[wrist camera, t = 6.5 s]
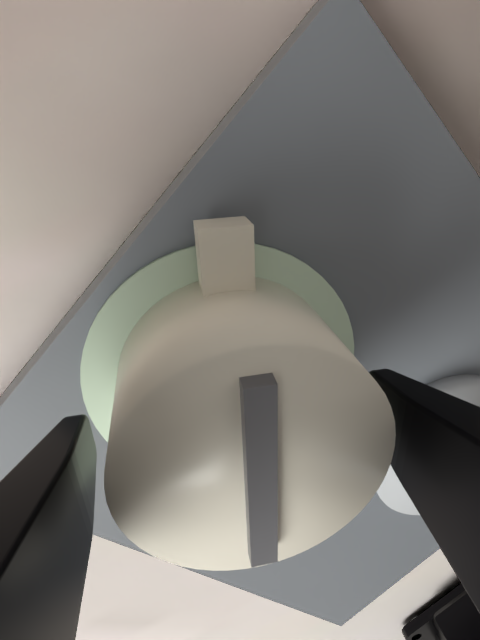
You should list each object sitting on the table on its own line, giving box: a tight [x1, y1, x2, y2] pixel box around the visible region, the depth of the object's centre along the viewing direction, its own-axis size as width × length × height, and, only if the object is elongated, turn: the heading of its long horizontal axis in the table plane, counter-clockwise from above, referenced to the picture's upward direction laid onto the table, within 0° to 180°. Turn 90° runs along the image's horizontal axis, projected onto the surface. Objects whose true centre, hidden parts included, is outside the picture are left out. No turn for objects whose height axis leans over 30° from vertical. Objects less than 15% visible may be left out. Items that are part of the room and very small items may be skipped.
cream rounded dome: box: [104, 216, 396, 571], centre depth 8 cm, size 7×5×3 cm
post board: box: [0, 0, 480, 626], centre depth 10 cm, size 15×13×6 cm
